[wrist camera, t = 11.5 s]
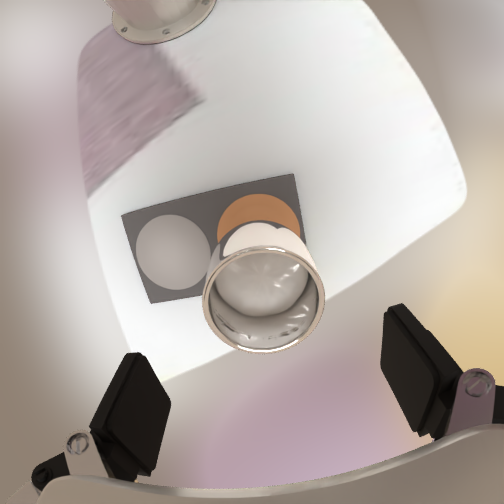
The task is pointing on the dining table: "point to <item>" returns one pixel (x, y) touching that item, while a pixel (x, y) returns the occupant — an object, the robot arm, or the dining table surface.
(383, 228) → the dining table surface
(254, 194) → the mat
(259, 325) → the beer glass
